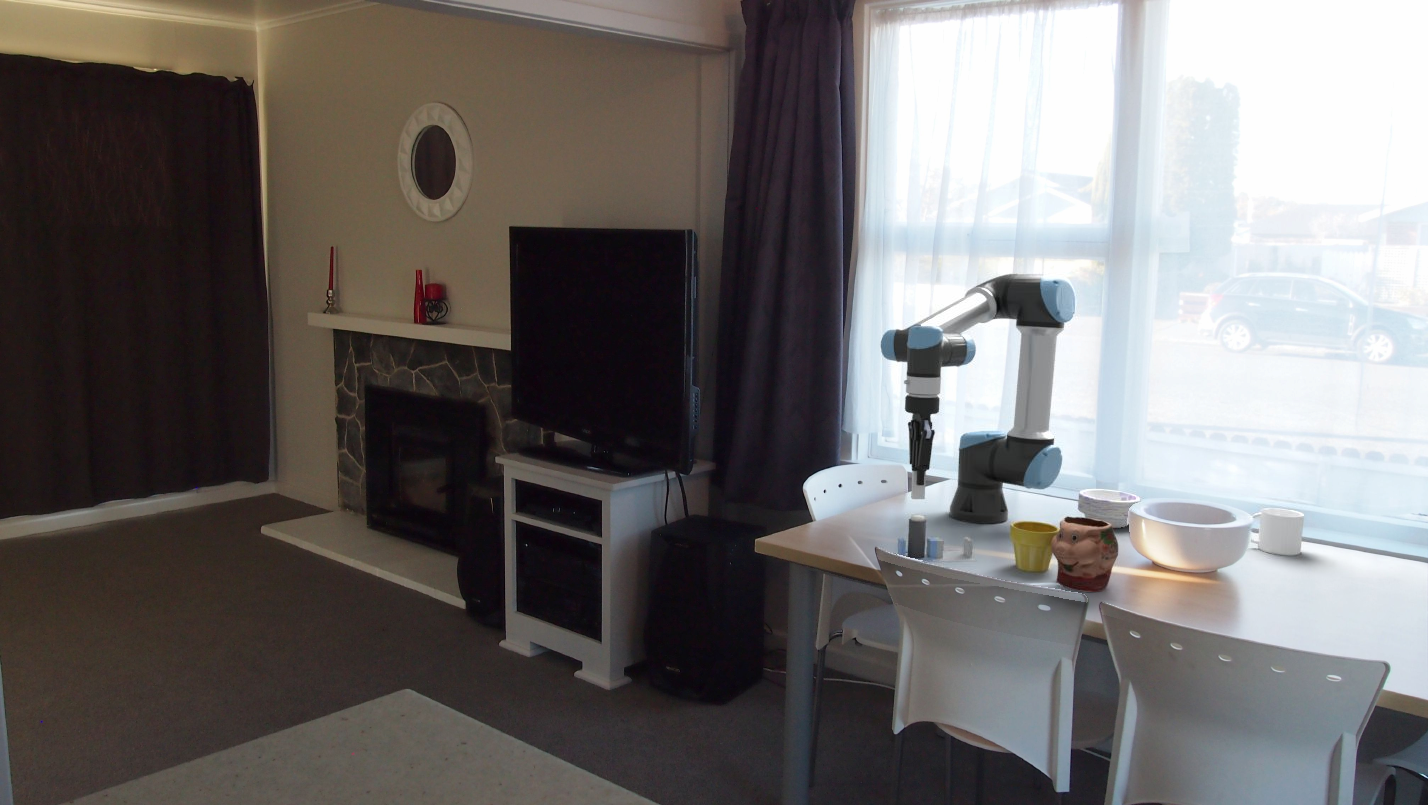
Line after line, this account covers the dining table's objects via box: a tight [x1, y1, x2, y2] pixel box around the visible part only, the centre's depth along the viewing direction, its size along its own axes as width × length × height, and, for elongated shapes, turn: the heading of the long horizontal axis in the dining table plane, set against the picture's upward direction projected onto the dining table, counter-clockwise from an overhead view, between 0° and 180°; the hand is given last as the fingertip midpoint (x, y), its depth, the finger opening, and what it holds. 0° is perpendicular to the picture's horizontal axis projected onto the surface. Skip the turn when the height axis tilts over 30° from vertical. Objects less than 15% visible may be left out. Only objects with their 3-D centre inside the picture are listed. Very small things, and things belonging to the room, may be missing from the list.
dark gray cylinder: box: [907, 514, 927, 559], centre depth 232 cm, size 4×4×9 cm
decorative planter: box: [1051, 516, 1119, 593], centre depth 215 cm, size 20×12×14 cm, turn 135°
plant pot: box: [1009, 520, 1060, 573], centre depth 225 cm, size 10×10×10 cm
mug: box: [1250, 507, 1305, 557], centre depth 244 cm, size 12×9×9 cm
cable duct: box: [893, 536, 977, 563], centre depth 233 cm, size 17×8×4 cm, turn 95°
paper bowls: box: [1077, 488, 1142, 529], centre depth 267 cm, size 15×15×8 cm
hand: (917, 498), depth 231 cm, fingers closed
